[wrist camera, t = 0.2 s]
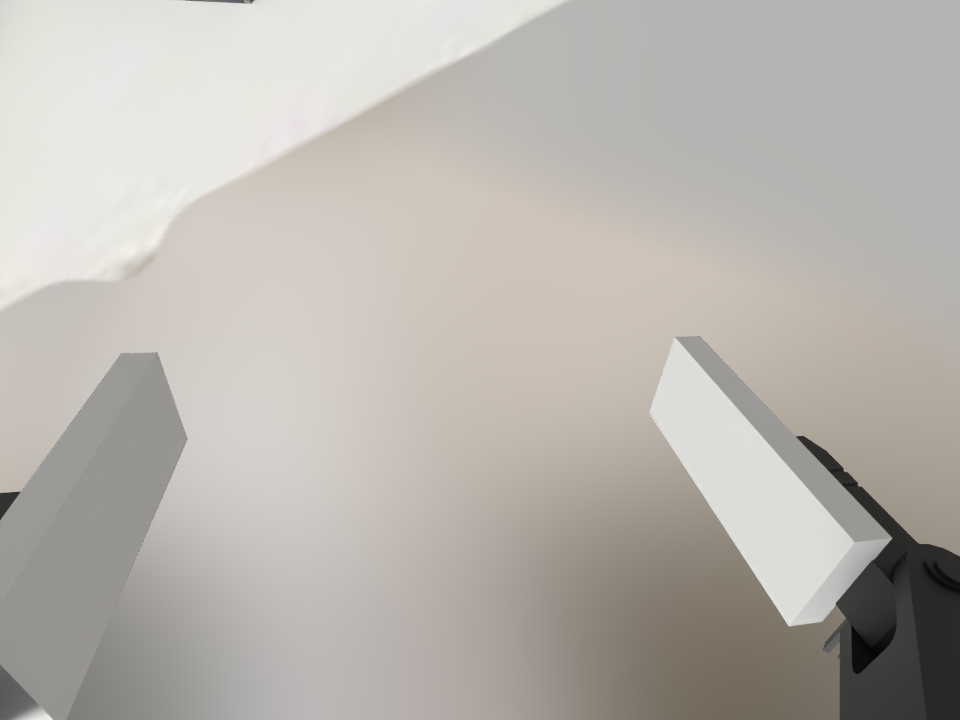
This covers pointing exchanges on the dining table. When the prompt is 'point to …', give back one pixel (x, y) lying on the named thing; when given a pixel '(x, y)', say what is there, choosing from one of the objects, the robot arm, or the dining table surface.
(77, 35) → the dining table surface
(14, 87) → the dining table surface
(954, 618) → the robot arm
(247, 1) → the metal rim
